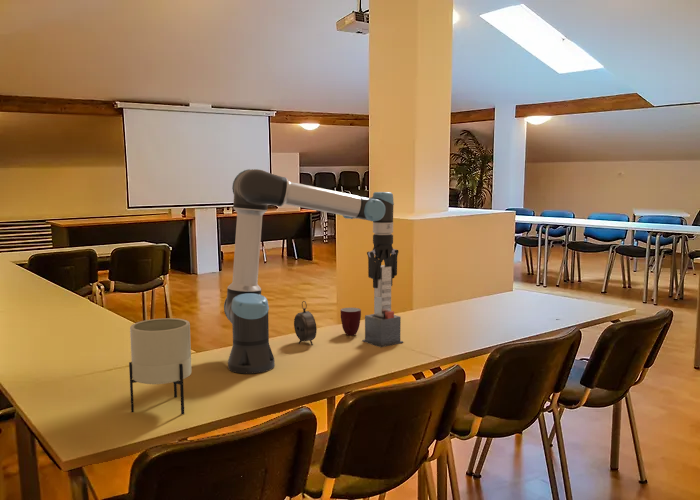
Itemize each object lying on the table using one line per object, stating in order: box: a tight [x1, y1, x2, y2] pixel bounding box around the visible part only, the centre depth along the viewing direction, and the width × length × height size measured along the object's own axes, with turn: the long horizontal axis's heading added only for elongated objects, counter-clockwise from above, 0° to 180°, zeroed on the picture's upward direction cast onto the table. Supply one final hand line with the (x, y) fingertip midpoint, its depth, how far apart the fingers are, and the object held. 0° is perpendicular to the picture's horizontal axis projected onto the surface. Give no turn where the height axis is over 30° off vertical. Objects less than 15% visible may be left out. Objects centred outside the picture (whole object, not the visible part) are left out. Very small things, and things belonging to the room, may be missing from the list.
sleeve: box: [361, 310, 404, 348], centre depth 230 cm, size 11×11×12 cm
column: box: [373, 264, 392, 319], centre depth 229 cm, size 4×5×24 cm
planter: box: [128, 317, 192, 415], centre depth 164 cm, size 15×16×23 cm
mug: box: [340, 307, 362, 337], centre depth 241 cm, size 10×8×10 cm
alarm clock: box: [293, 300, 318, 346], centre depth 229 cm, size 11×5×16 cm, turn 31°
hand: (382, 295), depth 229 cm, fingers closed on column, 4 cm apart
